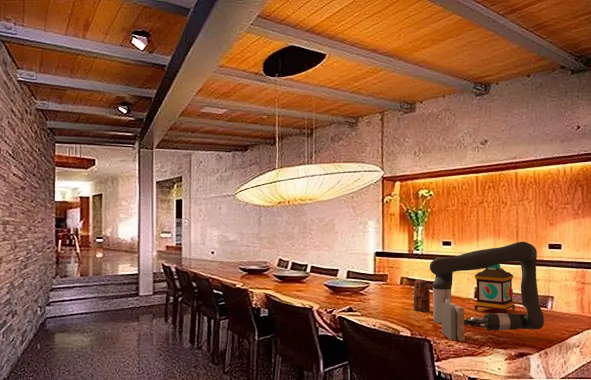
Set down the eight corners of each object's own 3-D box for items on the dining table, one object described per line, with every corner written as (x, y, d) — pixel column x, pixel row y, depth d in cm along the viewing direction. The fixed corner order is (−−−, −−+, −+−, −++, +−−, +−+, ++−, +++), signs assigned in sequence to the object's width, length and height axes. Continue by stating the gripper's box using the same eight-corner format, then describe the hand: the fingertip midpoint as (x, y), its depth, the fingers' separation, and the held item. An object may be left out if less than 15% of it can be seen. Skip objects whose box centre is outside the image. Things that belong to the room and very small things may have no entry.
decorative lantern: (518, 310, 277) (516, 259, 279) (507, 315, 263) (505, 261, 265) (483, 306, 291) (482, 257, 293) (471, 311, 276) (470, 259, 278)
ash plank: (447, 332, 222) (447, 302, 223) (452, 332, 222) (451, 302, 223) (459, 340, 206) (459, 308, 207) (464, 340, 206) (463, 308, 207)
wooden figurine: (409, 309, 281) (409, 278, 282) (417, 308, 284) (416, 278, 286) (425, 312, 271) (424, 281, 272) (432, 311, 275) (432, 280, 276)
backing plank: (440, 331, 226) (439, 299, 227) (450, 331, 226) (449, 299, 226) (451, 340, 209) (450, 305, 210) (462, 340, 209) (461, 305, 210)
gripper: (490, 310, 221) (453, 311, 220) (503, 316, 207) (464, 316, 207) (490, 327, 220) (454, 327, 220) (504, 333, 207) (465, 334, 206)
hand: (459, 322), depth 213 cm, fingers closed
